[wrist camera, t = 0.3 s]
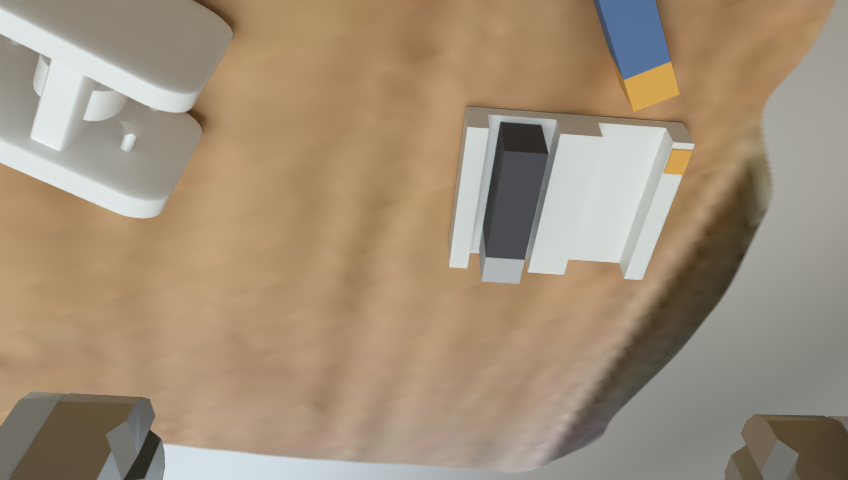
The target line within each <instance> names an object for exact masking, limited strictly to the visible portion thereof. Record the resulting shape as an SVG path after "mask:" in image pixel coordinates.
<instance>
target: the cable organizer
mask: <svg viewBox="0 0 848 480" xmlns="http://www.w3.org/2000/svg"><path fill="white" fill-rule="evenodd" d="M232 37H233V33H232V30H231V28H230V27H229V26H228V24H227V23H226V22H225V21H224V20H223V19H222V18H220V17H219V16H218V15H217V14H215V13H214V12H212V11H211V10H209V9H208V8H206V7H204V6H202V5H200V4H199V3H197V2H195V1H193V0H0V163H2V164H5V165H7V166H9V167H11V168H14V169H16V170H18V171H21V172H23V173H25V174H28V175H30V176H32V177H35V178H37V179H39V180H42V181H44V182H46V183H48V184H51V185H53V186H55V187H58V188H60V189H62V190H65V191H67V192H69V193H72V194H74V195H76V196H79V197H81V198H83V199H86V200H88V201H90V202H92V203H95V204H97V205H99V206H102V207H104V208H106V209H109V210H111V211H113V212H116V213H118V214H121V215H125V216H129V217H135V218H150V217H154V216H157V215H158V214H160V213H161V212H162V210H163V208H164V206H165V205H166V203H167V201H168V199H169V197H170V195H171V194H172V192H173V190H174V188H175V186H176V184H177V182H178V181H179V179H180V177H181V175H182V173H183V171H184V170H185V168H186V166H187V164H188V162H189V160H190V159H191V157H192V155H193V153H194V151H195V149H196V147H197V145H198V143H199V141H200V138H201V136H202V129H201V127H200V125H199V124H198V122H197V121H196V120H195V119H194V118H193V117H192V116H190V115H189V114H188V113H186V111H188V110H190V109H191V108H192V107H193V105H194V104H195V102H196V100H197V99H198V97H199V95H200V94H201V92H202V90H203V89H204V87H205V86H206V84H207V82H208V81H209V79H210V77H211V76H212V74H213V72H214V71H215V69H216V67H217V66H218V64H219V62H220V61H221V59H222V58H223V56H224V54H225V52H226V50H227V48H228V46H229V44H230V41H231V39H232Z"/></svg>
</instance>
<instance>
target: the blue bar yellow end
mask: <svg viewBox="0 0 848 480" xmlns="http://www.w3.org/2000/svg"><path fill="white" fill-rule="evenodd" d="M594 3H595V6H596V9H597V13H598V16H599V19H600V22H601V25H602V28H603V32H604V35H605V38H606V41H607V44H608V47H609V51H610V54H611V57H612V60H613V63H614V66H615V70H616V73H617V76H618V79H619V82H620V85H621V87H622V89H623V91H624V93H625V95H626V98H627V100H628V102H629V104H630V106H631V108H632V110H633V112H635V111H638V110H640V109H643V108H645V107H648V106H651V105H653V104H656V103H658V102H661V101H664V100H666V99H669V98H671V97H674V96H676V95H679V91H678V87H677V83H676V79H675V75H674V71H673V67H672V64H671V60H670V56H669V52H668V48H667V44H666V40H665V36H664V33H663V29H662V25H661V21H660V17H659V13H658V9H657V5H656V2H655V0H594Z"/></svg>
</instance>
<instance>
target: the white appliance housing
mask: <svg viewBox="0 0 848 480" xmlns="http://www.w3.org/2000/svg"><path fill="white" fill-rule="evenodd" d="M500 122H510V123H523V124H537V125H542V129H543V133H544V137H545V141H546V145H547V149H548V153H549V155H548V160H547V164H546V168H545V173H544V177H543V181H542V186H541V190H540V195H539V199H538V203H537V208H536V212H535V216H534V221H533V225H532V230H531V234H530V238H529V243H528V247H527V251H526V256H525V258H526V264H527V270H528V272H531V273H546V274H561V275H564V273H565V269H566V266H567V262H568V259H571V260H586V261H601V262H616V263H619V265H620V268H621V271H622V274H623V277H624V279H636V280H642V278H643V276H644V273H645V271H646V268H647V265H648V263H649V260H650V258H651V255H652V253H653V250H654V247H655V245H656V242H657V240H658V237H659V235H660V232H661V229H662V227H663V224H664V222H665V219H666V217H667V214H668V211H669V209H670V206H671V204H672V201H673V199H674V196H675V193H676V191H677V188H678V186H679V183H680V181H681V178H682V175H684V172H685V169H686V167H687V164H688V162H689V159H690V157H691V154H692V152H693V151H692V150H693V147H694V145H695V143H694V142H693V140H692V138H691V137H690V135H689V133H688V131H687V130H686V128H685V126H684V125H683V123H680V122H667V121H654V120H641V119H627V118H614V117H601V116H588V115H574V114H561V113H548V112H534V111H521V110H508V109H495V108H481V107H468V106H466V111H465V118H464V126H463V134H462V142H461V150H460V157H459V165H458V173H457V181H456V189H455V196H454V204H453V212H452V220H451V227H450V235H449V243H448V248H449V267H456V268H467V266H468V260H469V254H470V253H479V245H480V239H481V233H482V227H483V221H484V215H485V209H486V203H487V198H488V192H489V186H490V180H491V174H492V168H493V162H494V156H495V150H496V144H497V138H498V132H499V126H500Z"/></svg>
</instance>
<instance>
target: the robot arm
mask: <svg viewBox="0 0 848 480" xmlns="http://www.w3.org/2000/svg"><path fill="white" fill-rule="evenodd" d="M154 418H155V414H154V411H153V408H152V405H151V402H150V399H147V398H143V397H129V396H110V395H92V394H74V393H69V394H64V393H44V392H31V393H29V394H27V395H26V396H24V397H23V398H21V399H20V400H19V401H18V402H17V404H16V405H15V407H14V408H13V409H12V411H11V412H10V414H9V415H8V417H7V418H6V419H5V421H4V422H3V424H2V425H1V426H0V480H163V475H164V469H165V458H164V448H163V444H162V440H161V438H160V437H158V436H157V435H156V434H155V433H153V432H152V431H151V430H150V427H151V425H152V422H153V420H154ZM741 435H742V437H743V438H744V440H745V442H746V445H745V446H744V447H742V448H741V449H739V450H738V451H736V452H735V453H733V454H732V455H731V457H730V459H729V462H728V465H727V467H726V470H725V480H848V417H843V416H828V417H826V416H816V415H813V416H812V415H811V416H810V415H760V414H759V415H758V414H755V415H753V416H752V417H751V418H749V419H748V420H747V421H746V423H745V426H744V427H743V430H742V432H741Z"/></svg>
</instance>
